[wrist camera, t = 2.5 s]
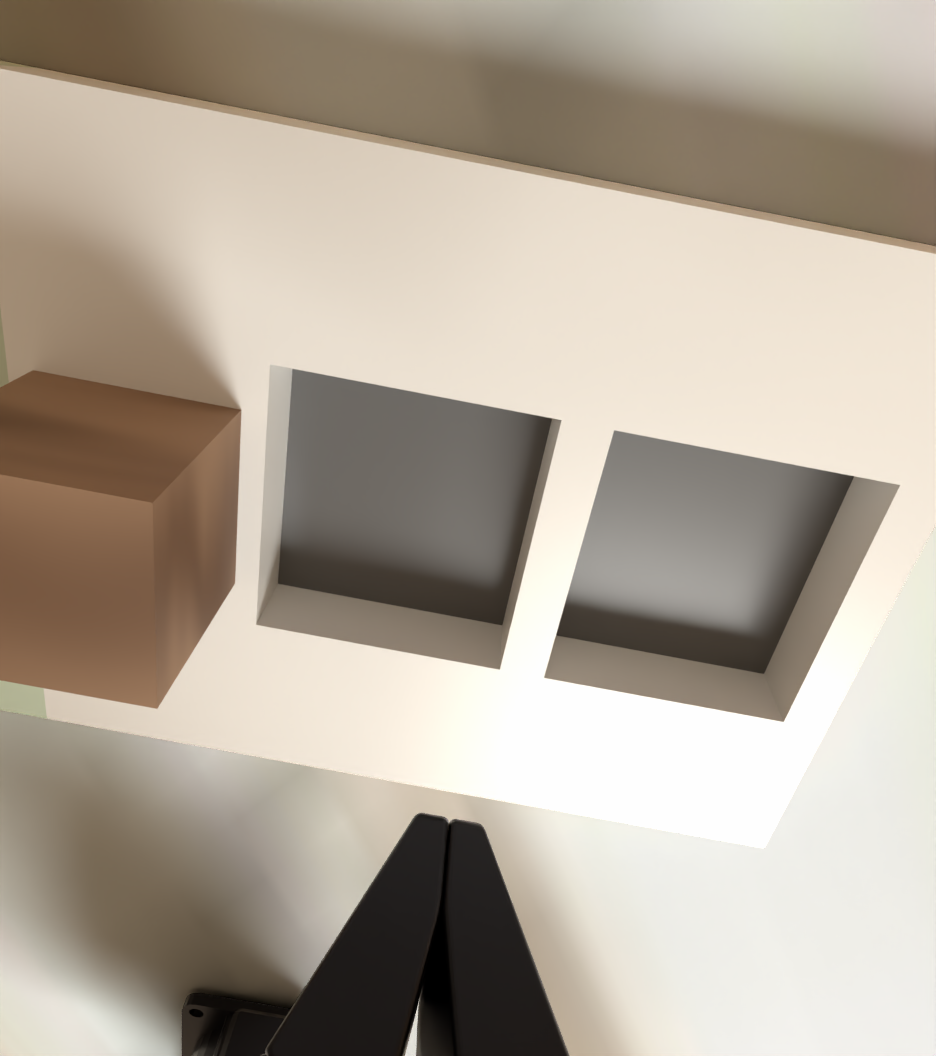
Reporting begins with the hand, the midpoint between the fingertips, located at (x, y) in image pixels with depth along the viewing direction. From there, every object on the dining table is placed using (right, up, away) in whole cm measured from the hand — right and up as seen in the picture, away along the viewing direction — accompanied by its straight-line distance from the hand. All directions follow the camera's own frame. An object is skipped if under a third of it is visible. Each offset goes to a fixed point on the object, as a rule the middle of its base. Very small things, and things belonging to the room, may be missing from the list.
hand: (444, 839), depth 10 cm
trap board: (-3, +5, +8) cm, 10 cm away
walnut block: (-6, +5, +6) cm, 10 cm away
